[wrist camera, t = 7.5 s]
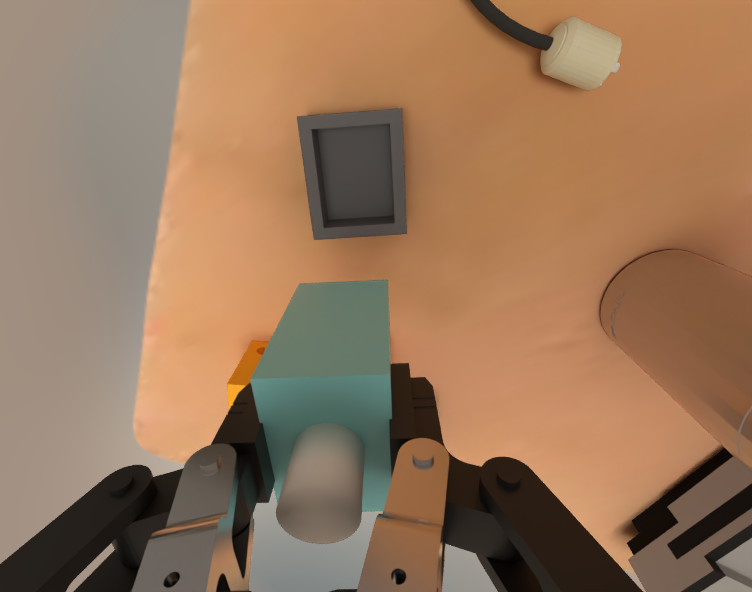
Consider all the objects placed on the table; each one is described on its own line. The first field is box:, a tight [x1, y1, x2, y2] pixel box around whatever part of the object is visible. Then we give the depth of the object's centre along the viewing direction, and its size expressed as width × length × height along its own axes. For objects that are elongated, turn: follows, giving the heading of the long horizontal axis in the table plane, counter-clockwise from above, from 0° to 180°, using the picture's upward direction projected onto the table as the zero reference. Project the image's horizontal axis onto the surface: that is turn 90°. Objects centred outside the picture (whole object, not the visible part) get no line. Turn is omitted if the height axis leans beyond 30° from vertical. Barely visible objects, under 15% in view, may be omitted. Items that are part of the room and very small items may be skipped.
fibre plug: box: [250, 280, 392, 544], centre depth 13 cm, size 4×5×8 cm
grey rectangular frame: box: [297, 108, 407, 240], centre depth 28 cm, size 7×8×3 cm
